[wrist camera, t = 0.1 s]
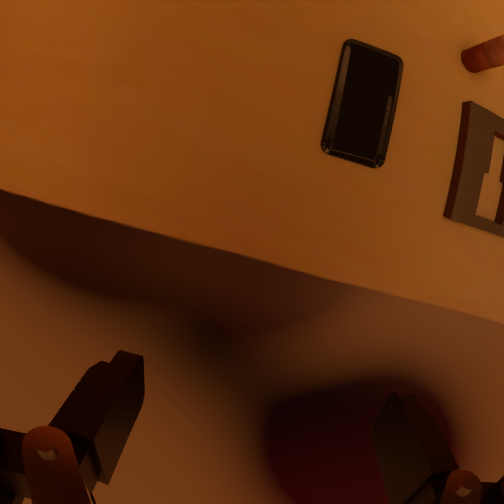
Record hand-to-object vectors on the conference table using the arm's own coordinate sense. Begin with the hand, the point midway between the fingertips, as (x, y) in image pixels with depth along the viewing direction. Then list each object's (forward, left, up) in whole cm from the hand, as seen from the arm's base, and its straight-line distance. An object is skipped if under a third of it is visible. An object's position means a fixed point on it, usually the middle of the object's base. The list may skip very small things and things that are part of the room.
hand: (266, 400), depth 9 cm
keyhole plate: (-13, +30, -29) cm, 44 cm away
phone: (-16, +9, -30) cm, 35 cm away
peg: (-28, +24, -29) cm, 47 cm away
